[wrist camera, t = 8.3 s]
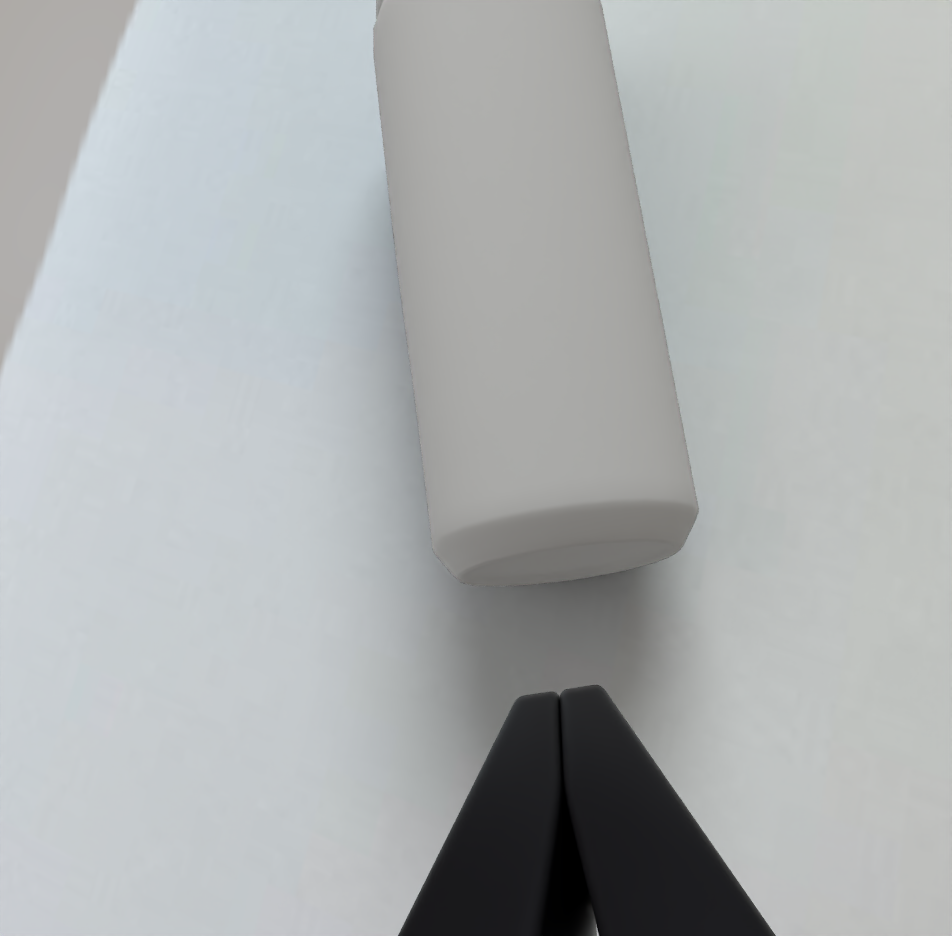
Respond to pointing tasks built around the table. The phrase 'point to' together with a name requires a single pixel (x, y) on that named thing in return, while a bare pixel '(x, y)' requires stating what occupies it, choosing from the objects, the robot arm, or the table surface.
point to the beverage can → (527, 294)
